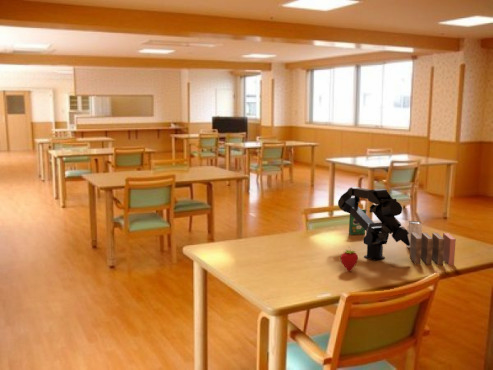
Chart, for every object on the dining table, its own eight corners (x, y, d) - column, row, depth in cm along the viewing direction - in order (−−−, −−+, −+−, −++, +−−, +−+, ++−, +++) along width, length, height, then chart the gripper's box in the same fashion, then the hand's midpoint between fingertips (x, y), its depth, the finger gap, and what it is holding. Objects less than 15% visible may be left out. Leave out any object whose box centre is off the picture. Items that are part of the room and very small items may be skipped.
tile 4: (448, 265, 206) (450, 239, 204) (441, 257, 215) (443, 232, 214) (453, 265, 205) (455, 239, 204) (446, 257, 215) (448, 233, 214)
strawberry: (336, 270, 198) (337, 246, 197) (350, 267, 203) (350, 243, 201) (347, 275, 194) (348, 250, 192) (361, 271, 198) (361, 247, 196)
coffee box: (363, 233, 257) (363, 208, 255) (365, 234, 254) (366, 209, 252) (348, 234, 255) (349, 208, 253) (350, 235, 253) (351, 210, 251)
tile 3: (437, 264, 206) (439, 238, 204) (431, 257, 216) (432, 232, 214) (442, 264, 206) (444, 239, 204) (435, 257, 216) (437, 232, 214)
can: (418, 250, 226) (419, 224, 224) (404, 247, 230) (405, 222, 228) (422, 247, 231) (424, 221, 229) (409, 244, 235) (410, 220, 233)
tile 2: (426, 264, 206) (428, 238, 205) (420, 257, 216) (421, 232, 214) (431, 264, 206) (433, 238, 204) (425, 257, 216) (426, 232, 214)
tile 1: (415, 264, 207) (416, 238, 205) (409, 257, 217) (410, 232, 215) (420, 264, 207) (421, 238, 205) (414, 257, 216) (415, 232, 215)
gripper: (367, 223, 219) (389, 250, 221) (374, 234, 201) (398, 263, 202) (387, 207, 218) (409, 234, 219) (396, 217, 199) (420, 247, 200)
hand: (408, 245), depth 210 cm, fingers closed
